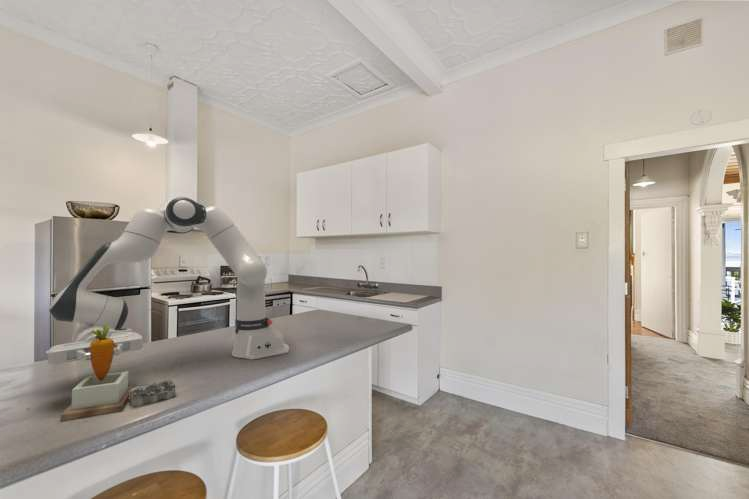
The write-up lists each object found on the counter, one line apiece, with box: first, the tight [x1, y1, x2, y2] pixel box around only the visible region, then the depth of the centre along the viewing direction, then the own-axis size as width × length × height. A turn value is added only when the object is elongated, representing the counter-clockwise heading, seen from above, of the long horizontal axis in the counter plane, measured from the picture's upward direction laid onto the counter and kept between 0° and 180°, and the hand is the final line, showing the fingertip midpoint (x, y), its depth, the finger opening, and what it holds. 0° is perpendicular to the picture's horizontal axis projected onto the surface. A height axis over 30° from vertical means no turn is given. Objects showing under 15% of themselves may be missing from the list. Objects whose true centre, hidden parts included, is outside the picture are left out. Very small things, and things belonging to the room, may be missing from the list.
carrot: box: [90, 324, 114, 381], centre depth 86 cm, size 5×5×15 cm
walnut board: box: [60, 384, 136, 422], centre depth 86 cm, size 12×14×2 cm
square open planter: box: [71, 370, 129, 410], centre depth 86 cm, size 9×9×5 cm
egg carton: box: [128, 378, 177, 408], centre depth 90 cm, size 11×8×4 cm
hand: (102, 354), depth 85 cm, fingers closed on carrot, 5 cm apart
